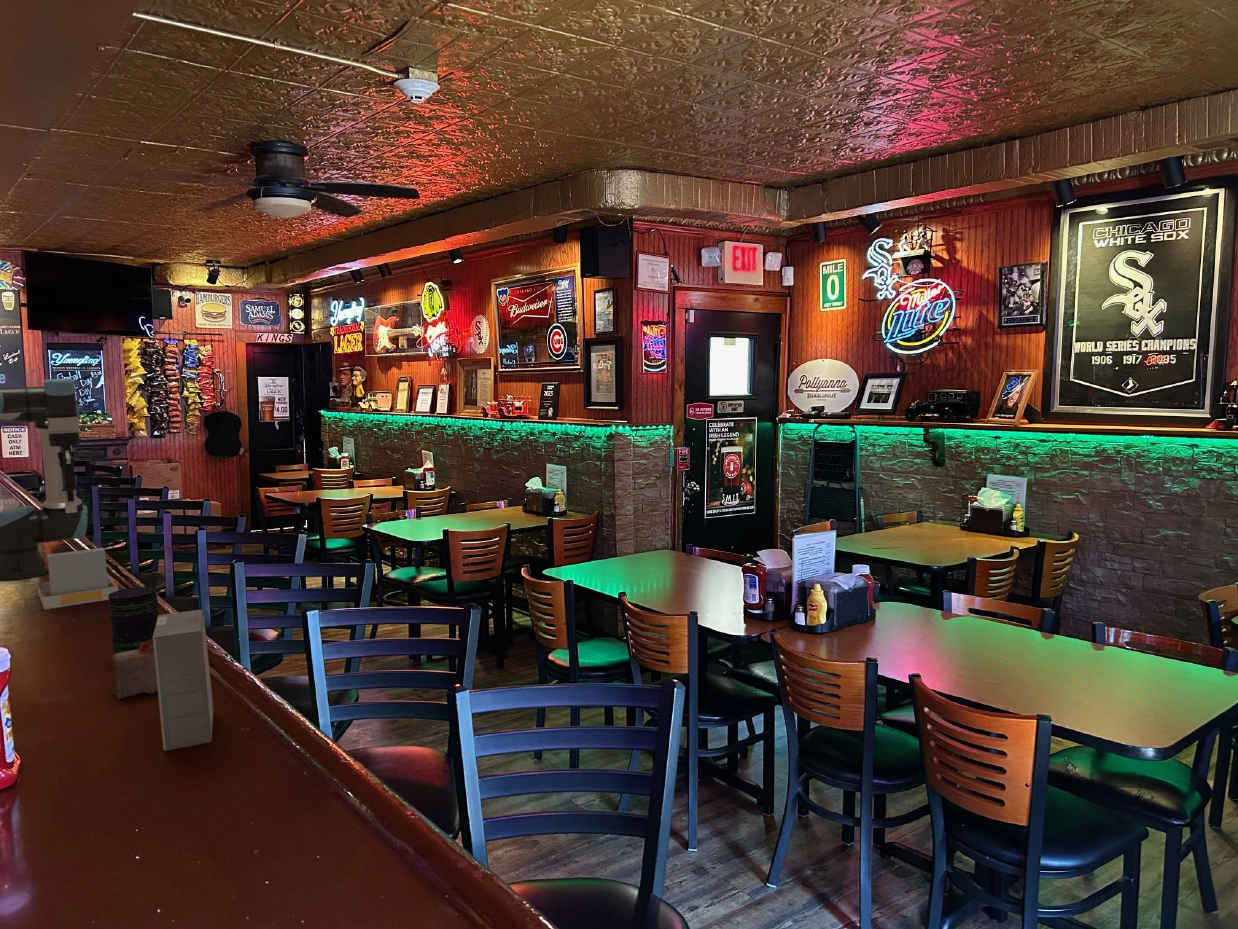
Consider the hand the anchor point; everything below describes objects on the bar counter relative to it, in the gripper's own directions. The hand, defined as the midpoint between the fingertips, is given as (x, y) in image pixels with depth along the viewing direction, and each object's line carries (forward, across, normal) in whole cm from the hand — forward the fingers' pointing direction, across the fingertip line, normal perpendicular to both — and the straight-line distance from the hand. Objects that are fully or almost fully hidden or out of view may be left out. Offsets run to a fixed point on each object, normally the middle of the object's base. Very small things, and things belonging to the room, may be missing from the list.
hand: (71, 512), depth 251 cm
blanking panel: (+26, +2, 0) cm, 26 cm away
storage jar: (+26, +75, +5) cm, 79 cm away
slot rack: (+26, -6, 0) cm, 27 cm away
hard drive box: (+26, +132, +5) cm, 135 cm away
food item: (+26, +102, +3) cm, 106 cm away
